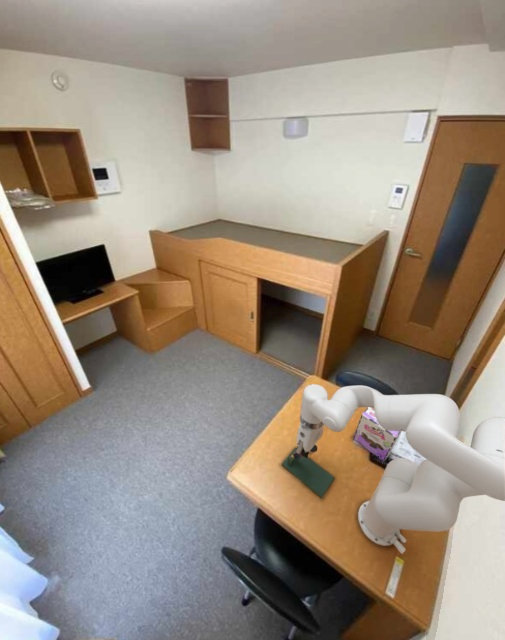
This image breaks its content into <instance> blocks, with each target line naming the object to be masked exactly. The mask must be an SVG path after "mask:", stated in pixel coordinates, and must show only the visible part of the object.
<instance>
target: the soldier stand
mask: <svg viewBox="0 0 505 640" xmlns="http://www.w3.org/2000/svg"><path fill="white" fill-rule="evenodd" d="M298 446H299V445H297V446H296V447H294V448H293V449H292V451H291V452H290V453H289V454H288V455H287V457H286V458H285V459H284V460H283V461H282V462H281V466H282V467H283V468H284V469H286V471H288V472H289V473H290V474H291V475H293V476H294V477H295V478H296V479H298V481H300V482H301V483H302V484H304V486H306V488H308V489H310V490H311V491H312V492H313V493H314V494H316V496H318V497H319V498H320V499H322V498H323V497H324V495H325V494H326V492H327V491H328V489H329V488H330V487H331V485H332V483H333V482H334V480H335V476H333V475H332V474H331V473H329V472H328V471H327V470H325V469H324V468H323V467H321V466H320V465H319V464H318V463H317V462H315V461H314V460H313V459H311V458H310V457H309V456H308V458H305V457H302V456H301V457H298V458H294V459H293V458H291V456H292V454H293V453H294V452H295V451H296V450H297V448H298Z"/></svg>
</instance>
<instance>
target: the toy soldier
mask: <svg viewBox="0 0 505 640" xmlns="http://www.w3.org/2000/svg"><path fill="white" fill-rule="evenodd" d="M296 451H297V450H296ZM296 451H295V452H294V453H293V454H292V456H291V458H293V459H294V458H298V457H301V456H302V455H301V454H298V453H297V452H296ZM317 451H318V446H317V444H315V445H314V446H313V448H312V449H311V450H310V451H309V454H308V455H314V454H315V452H316V453H317ZM302 457H303V456H302Z"/></svg>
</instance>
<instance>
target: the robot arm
mask: <svg viewBox="0 0 505 640" xmlns="http://www.w3.org/2000/svg"><path fill="white" fill-rule="evenodd" d="M301 396H302V397H301V405H300V413H299V414H300V415H299V422H300V423H299V426H298V429H297V430H298V431H297V435H296V445H297V446H298V448H297V447H296V448H297V451H296V452H297V453H298V454H301V455H302V456H303V457H305V458H308V457H309V455H310V454H309V451H310V450H311V449H312V448H313V446H314V445H317V443H318V441H319V440H320V439H321V437H322V436H323V434H324V427H326V428H328V429H329V430H331V431H333V432H335V433H340V432H342V431H343V430H344V429H345V428H346V427H347V425H348V423H349V422H350V420H351V418H352V417H353V416H354V414H355V412H356V411H357V409H359V408H368V407H371V408H372V409H374V411H375V415H376V418H377V421H378V423H379V424H380V426H381V427H382V428H383V429H385V430H388V431H401V432H405V438H406V441H407V443H408V445H409V446H410V447H411V448H412V449H413V450H414V451H415V452H416V453H418V454H419V455H420V456H421V457H423V458H424V460H422V461H420V462H419V464H418V465H417V464H416V463H415V462H414V461H412V460H410V459H407V458H405V457H404V458H403V457H397V458H394V459H392V460H390V461H389V462H388V463H387V465H386V466H385V468H384V470H383V471H384V472H383V473H382V476H381V478H380V480H379V482H378V484H377V486H376V488H375V490H374V492H373V493H372V495H371V497H370V499H369V500H366V501H365V502H363V503H362V504H361V505H360V507H359V509H358V513H357V520H358V524H359V527H360V529H361V531H362V532H363V534H364V535H365V536H366V537H367V538H368V540H370V541H371V542H372V543H374V544H376V545H378V546H381V547H389V546H392V545H393V546H394V547H395V548H396V550H398V552H399V553H400V554H401V555H402V554H404V552H405V551H406V550H407V548H405V546H404V545H405V543H406V542H407V539H406V538H405V536H403V535H402V533H401V532H400V530H404V531H405V530H406V531H420V532H422V531H423V532H446V531H448V530H451V529H452V528H453V527H454V526H455V524H456V522H457V520H458V516H459V513H460V512H459V511H460V505H461V503H462V501H463V500H464V499H465V498H470V497H478V496H487V497H489V498H492V499H494V500H498V501H502V502H505V417H504V416H493V417H489V418H487V419H484V420H483V421H481V422H480V423H478V425H477V426H476V427H475V429H474V430H473V432H472V437H471V443H470V446H469V445H467V443H464V442H463V441H461V440H459V439H458V434H459V430H460V429H459V428H460V424H461V413H460V409H459V407H458V405H457V403H456V402H455V401H454V400H453V399H452V398H451V397H449V396H447V395H445V394H439V393H415V394H383V393H382V392H380V391H379V390H378V389H375V388H372V387H370V386H367V385H363V384H362V385H361V384H360V385H359V384H358V385H346V386H341V387H340V388H338V389H337V390H336V391H335V392H334V393H333V394H332V395H331V397H330V399H329V393H328V391H327V390H326V388H325V387H324V386H322V385H320V384H316V383H311V384H307V385H306V386H305V387H304V388H303V391H302V395H301ZM398 539H399V540H400V541H399V540H398ZM403 544H404V545H403Z"/></svg>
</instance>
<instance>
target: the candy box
mask: <svg viewBox="0 0 505 640" xmlns="http://www.w3.org/2000/svg"><path fill="white" fill-rule="evenodd" d="M401 433H402V431H388V430H385V429H383V428H382V427H381V426H380V424H379V423H378V421H377V418H376V415H375V411H374V408H372V407H366V409H365V410H364V411H363V412H362V413H361V416H360V418H359V421H358V423H357V427H356V429H355V432H354V435H353V437H352V438H353V440H354V441H355V442H356V443H358V444H359V445H360V446H362V447H363V448H365V449H366V450H367V451H368V452H370V453H371V454H372V455H374V456H375V457H376V458H378V459H379V460H380V461H382V462H383V463H385V461H386V460H387V459H388V457H390V455H391V453H392V451H393V449H394V447H395V445H396V443H397V441H398V440H399V437H400V435H401ZM378 456H379V457H378ZM382 459H383V460H382Z"/></svg>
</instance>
